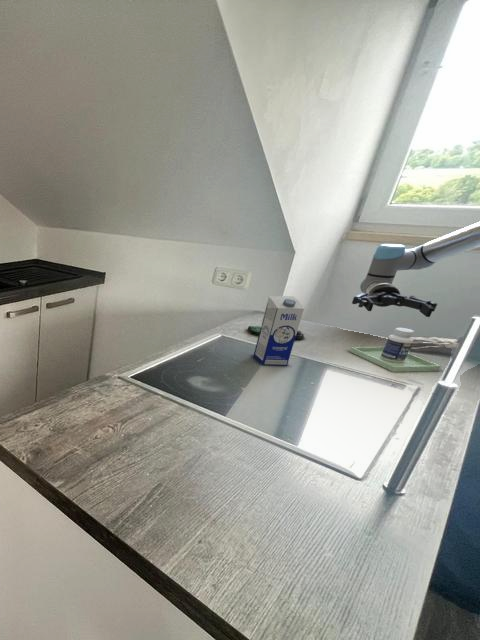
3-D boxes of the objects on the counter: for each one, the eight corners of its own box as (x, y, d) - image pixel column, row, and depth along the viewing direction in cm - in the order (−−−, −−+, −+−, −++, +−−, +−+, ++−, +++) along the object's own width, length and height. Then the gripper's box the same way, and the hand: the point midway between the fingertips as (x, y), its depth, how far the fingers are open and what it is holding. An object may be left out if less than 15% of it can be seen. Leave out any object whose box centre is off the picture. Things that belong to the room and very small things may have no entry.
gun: (254, 334, 139) (247, 325, 147) (253, 337, 139) (246, 328, 148) (307, 338, 134) (298, 328, 142) (306, 342, 134) (297, 332, 143)
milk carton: (276, 356, 124) (294, 295, 115) (287, 365, 117) (307, 301, 109) (252, 356, 125) (268, 295, 116) (262, 364, 119) (279, 301, 110)
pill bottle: (398, 364, 115) (411, 333, 111) (376, 358, 120) (388, 328, 116) (407, 361, 117) (421, 330, 113) (385, 354, 122) (397, 325, 118)
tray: (439, 370, 112) (441, 366, 111) (392, 371, 112) (394, 367, 111) (390, 350, 126) (392, 346, 125) (349, 351, 126) (351, 347, 125)
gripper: (426, 308, 133) (450, 327, 116) (334, 300, 145) (344, 315, 128) (436, 287, 130) (462, 303, 113) (341, 280, 142) (352, 293, 125)
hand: (399, 309), depth 121 cm, fingers open, 13 cm apart
